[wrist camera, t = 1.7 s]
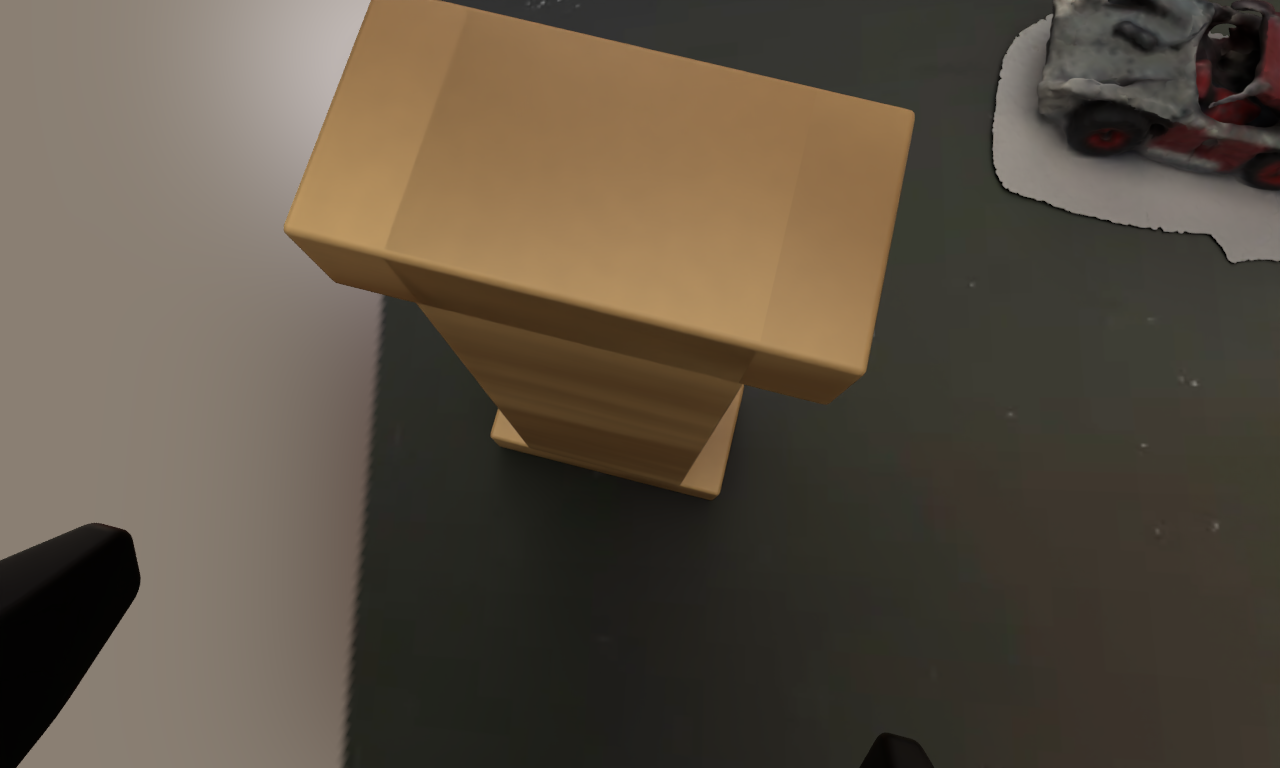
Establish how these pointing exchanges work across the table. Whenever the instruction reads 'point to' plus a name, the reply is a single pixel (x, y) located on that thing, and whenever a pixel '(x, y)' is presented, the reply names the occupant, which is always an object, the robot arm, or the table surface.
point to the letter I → (606, 228)
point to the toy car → (1149, 117)
